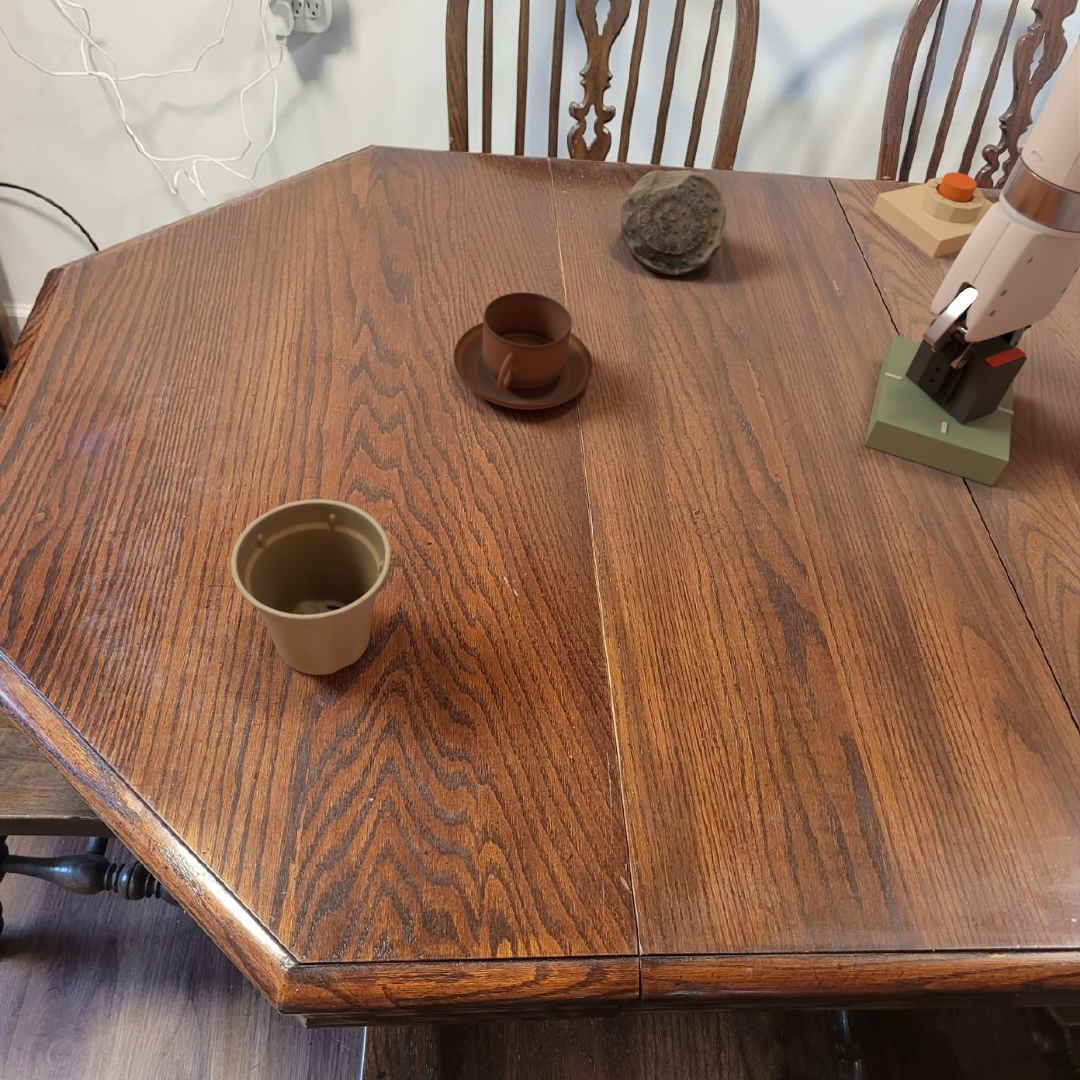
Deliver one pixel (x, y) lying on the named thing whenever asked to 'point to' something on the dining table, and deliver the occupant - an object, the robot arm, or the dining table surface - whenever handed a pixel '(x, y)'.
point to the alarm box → (932, 216)
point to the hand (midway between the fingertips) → (952, 386)
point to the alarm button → (957, 187)
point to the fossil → (673, 221)
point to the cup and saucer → (523, 354)
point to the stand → (935, 424)
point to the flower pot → (313, 580)
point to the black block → (976, 376)
